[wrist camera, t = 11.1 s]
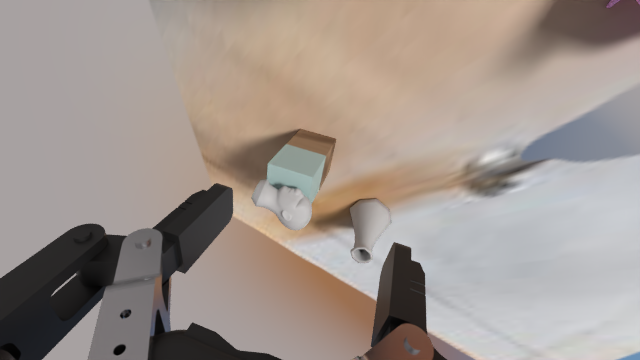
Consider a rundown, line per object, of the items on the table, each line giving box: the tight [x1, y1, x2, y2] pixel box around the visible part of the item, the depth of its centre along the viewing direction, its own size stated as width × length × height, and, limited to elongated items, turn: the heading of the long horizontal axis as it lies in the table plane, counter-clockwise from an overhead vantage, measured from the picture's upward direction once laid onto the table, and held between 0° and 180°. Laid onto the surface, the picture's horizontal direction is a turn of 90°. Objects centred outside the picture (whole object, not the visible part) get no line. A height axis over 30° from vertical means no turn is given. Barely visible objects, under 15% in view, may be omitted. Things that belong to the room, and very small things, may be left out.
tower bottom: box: [287, 129, 336, 190], centre depth 44 cm, size 6×6×6 cm
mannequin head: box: [252, 179, 312, 230], centre depth 35 cm, size 4×8×5 cm
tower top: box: [267, 144, 326, 204], centre depth 39 cm, size 6×6×6 cm
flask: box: [349, 199, 392, 263], centre depth 45 cm, size 7×7×10 cm
